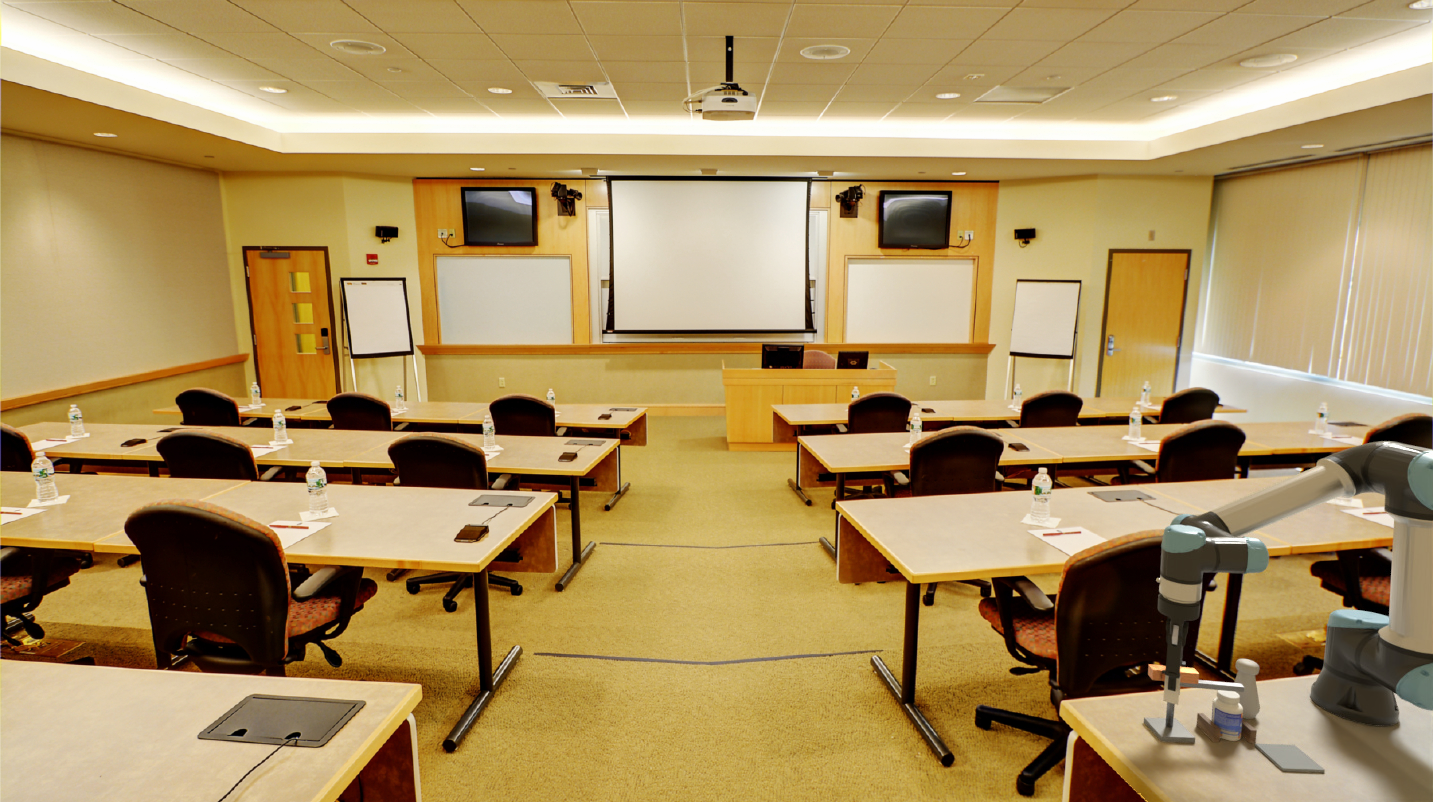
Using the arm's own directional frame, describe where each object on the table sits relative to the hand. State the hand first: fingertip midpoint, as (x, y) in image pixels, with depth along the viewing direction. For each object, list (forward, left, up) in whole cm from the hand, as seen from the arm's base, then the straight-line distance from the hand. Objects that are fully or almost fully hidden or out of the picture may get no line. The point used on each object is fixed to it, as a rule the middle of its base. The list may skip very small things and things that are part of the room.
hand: (1171, 696), depth 150 cm
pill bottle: (-12, 0, -9) cm, 15 cm away
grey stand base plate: (0, 0, -8) cm, 8 cm away
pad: (-19, +8, -8) cm, 23 cm away
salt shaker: (-21, -8, -9) cm, 24 cm away
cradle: (-12, 0, -8) cm, 15 cm away
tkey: (-4, +1, -7) cm, 8 cm away
